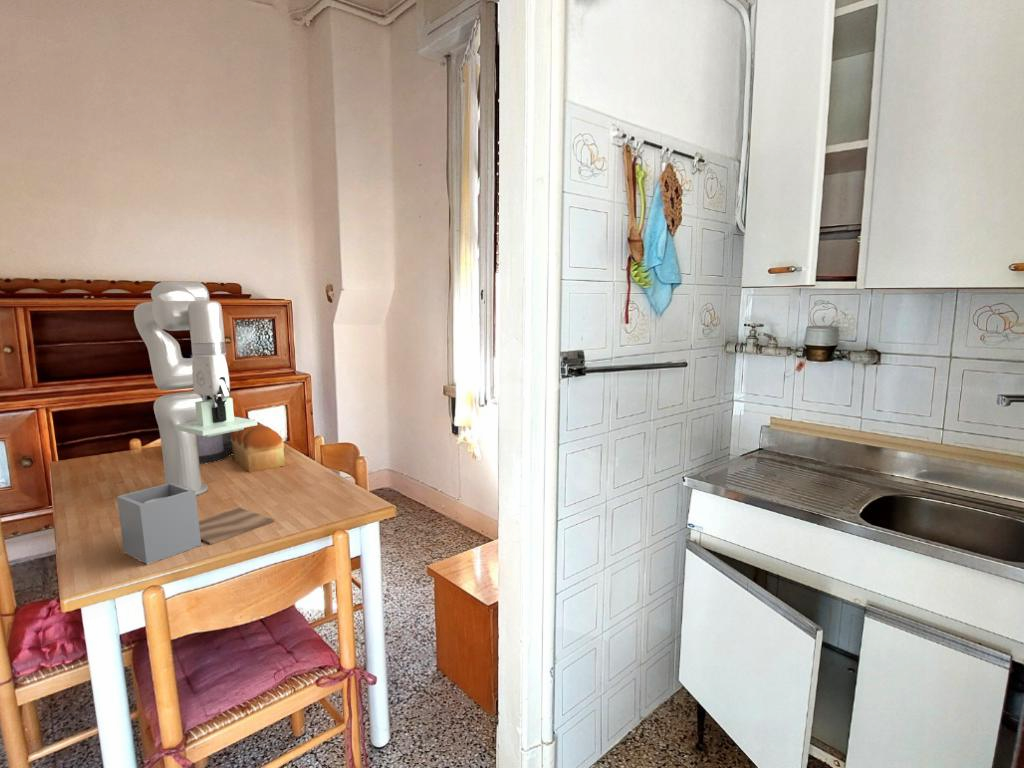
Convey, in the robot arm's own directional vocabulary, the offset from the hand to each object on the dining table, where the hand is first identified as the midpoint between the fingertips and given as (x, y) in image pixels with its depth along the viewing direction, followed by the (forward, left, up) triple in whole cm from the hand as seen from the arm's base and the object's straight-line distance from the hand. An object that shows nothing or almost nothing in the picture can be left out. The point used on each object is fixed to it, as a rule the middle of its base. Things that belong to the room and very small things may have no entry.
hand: (216, 420), depth 142 cm
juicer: (-75, +38, -29) cm, 88 cm away
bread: (-50, +40, -29) cm, 70 cm away
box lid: (0, 0, -3) cm, 3 cm away
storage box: (+1, -16, -29) cm, 33 cm away
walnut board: (0, 0, -29) cm, 29 cm away
